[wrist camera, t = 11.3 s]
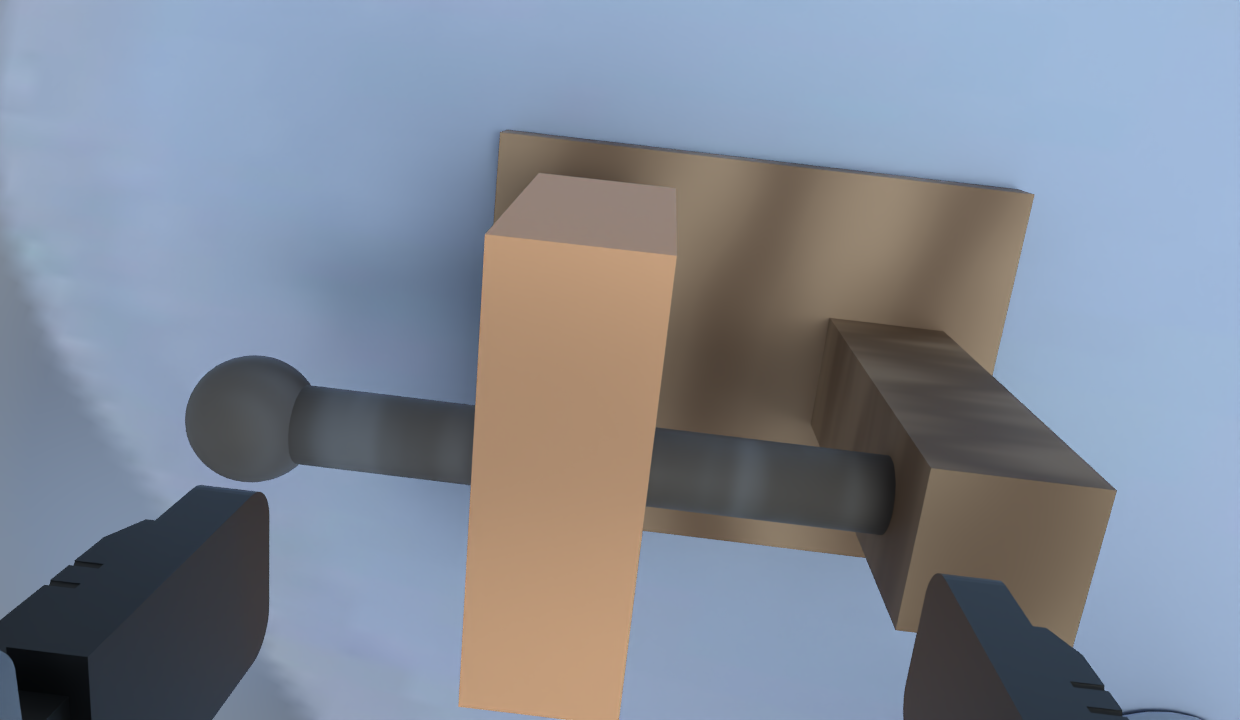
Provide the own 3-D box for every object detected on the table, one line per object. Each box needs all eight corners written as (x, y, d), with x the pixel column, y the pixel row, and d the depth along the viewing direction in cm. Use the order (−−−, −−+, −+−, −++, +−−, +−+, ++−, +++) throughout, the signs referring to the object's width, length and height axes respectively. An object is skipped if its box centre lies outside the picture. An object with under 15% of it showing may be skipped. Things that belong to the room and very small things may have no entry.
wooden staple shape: (632, 548, 32) (617, 725, 24) (512, 535, 32) (458, 706, 24) (675, 188, 28) (677, 255, 20) (539, 172, 28) (484, 234, 20)
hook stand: (1018, 189, 34) (1281, 274, 19) (936, 549, 38) (1103, 841, 23) (349, 111, 34) (117, 137, 20) (338, 476, 38) (139, 720, 24)
